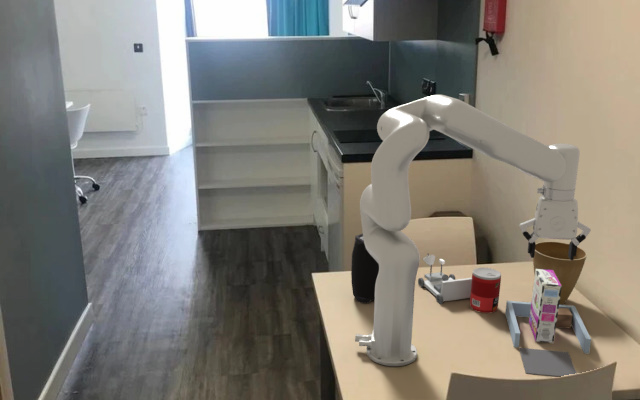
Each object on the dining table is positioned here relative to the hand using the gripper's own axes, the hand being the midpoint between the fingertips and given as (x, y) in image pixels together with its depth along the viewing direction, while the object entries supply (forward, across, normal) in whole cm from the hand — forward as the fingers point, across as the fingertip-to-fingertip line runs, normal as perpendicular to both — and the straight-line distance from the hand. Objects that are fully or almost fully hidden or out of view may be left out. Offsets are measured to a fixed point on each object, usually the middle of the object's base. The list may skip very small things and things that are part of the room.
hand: (551, 257), depth 168 cm
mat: (+22, -1, -16) cm, 27 cm away
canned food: (+22, -14, +13) cm, 29 cm away
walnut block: (+22, +6, +6) cm, 24 cm away
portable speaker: (+22, -48, +13) cm, 54 cm away
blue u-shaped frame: (+22, +1, 0) cm, 22 cm away
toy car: (+22, -25, +23) cm, 41 cm away
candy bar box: (+22, 0, 0) cm, 22 cm away
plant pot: (+22, +7, +22) cm, 32 cm away
